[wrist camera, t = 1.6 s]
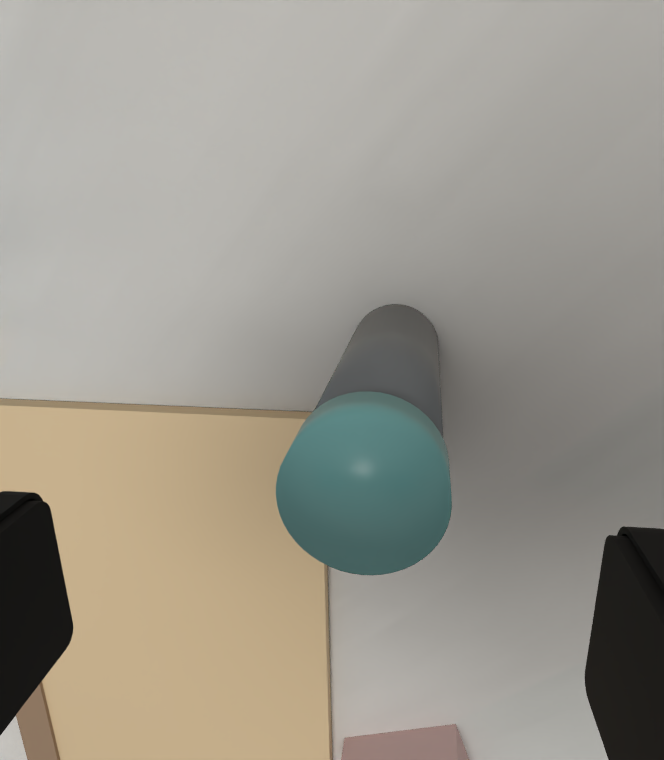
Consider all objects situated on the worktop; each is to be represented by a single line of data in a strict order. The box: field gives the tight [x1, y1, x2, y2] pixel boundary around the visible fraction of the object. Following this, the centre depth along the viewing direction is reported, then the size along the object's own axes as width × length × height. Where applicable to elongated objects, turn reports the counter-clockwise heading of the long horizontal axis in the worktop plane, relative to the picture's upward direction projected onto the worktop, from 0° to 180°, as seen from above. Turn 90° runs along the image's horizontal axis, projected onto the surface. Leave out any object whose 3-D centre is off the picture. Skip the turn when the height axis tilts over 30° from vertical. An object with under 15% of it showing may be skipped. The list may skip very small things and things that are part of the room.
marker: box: [276, 304, 452, 575], centre depth 17 cm, size 4×4×12 cm
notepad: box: [0, 399, 332, 760], centre depth 29 cm, size 18×24×1 cm
